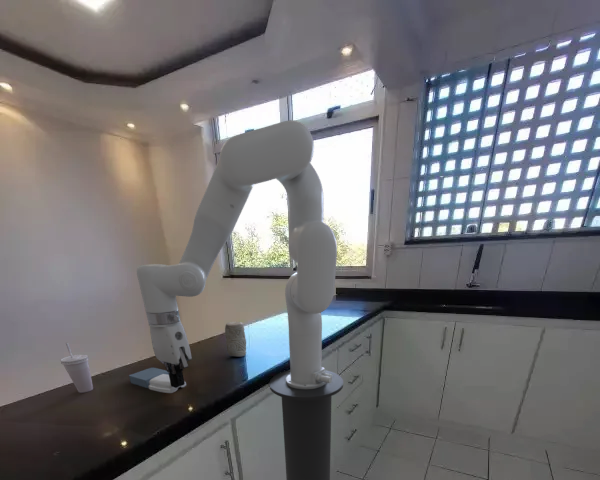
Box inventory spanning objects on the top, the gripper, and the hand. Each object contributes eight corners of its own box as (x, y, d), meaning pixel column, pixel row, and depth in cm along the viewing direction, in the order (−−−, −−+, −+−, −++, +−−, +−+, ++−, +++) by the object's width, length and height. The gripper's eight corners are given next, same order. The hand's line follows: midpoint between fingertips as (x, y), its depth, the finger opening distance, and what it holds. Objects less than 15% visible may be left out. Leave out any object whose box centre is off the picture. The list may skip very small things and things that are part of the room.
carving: (251, 354, 115) (247, 321, 109) (237, 360, 109) (233, 326, 104) (238, 352, 118) (234, 320, 112) (224, 357, 112) (219, 324, 107)
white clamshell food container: (147, 389, 88) (144, 379, 87) (165, 380, 94) (162, 371, 92) (171, 393, 85) (168, 384, 83) (188, 384, 90) (186, 375, 89)
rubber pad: (170, 378, 95) (168, 371, 94) (147, 388, 89) (145, 380, 88) (154, 374, 99) (152, 367, 97) (130, 383, 92) (128, 375, 91)
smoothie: (66, 394, 86) (47, 345, 80) (84, 385, 92) (67, 338, 86) (87, 395, 85) (69, 345, 79) (103, 385, 91) (88, 339, 85)
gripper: (195, 318, 76) (207, 386, 84) (159, 313, 84) (173, 376, 92) (168, 324, 71) (183, 396, 79) (133, 318, 78) (150, 384, 86)
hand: (178, 385), depth 85 cm, fingers closed
